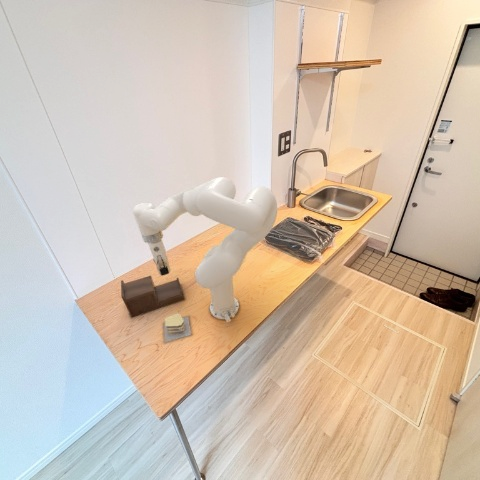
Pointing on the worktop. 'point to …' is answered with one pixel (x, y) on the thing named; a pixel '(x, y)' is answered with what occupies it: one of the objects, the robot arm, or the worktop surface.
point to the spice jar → (163, 263)
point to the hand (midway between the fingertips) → (164, 269)
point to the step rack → (149, 295)
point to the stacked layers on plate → (176, 327)
